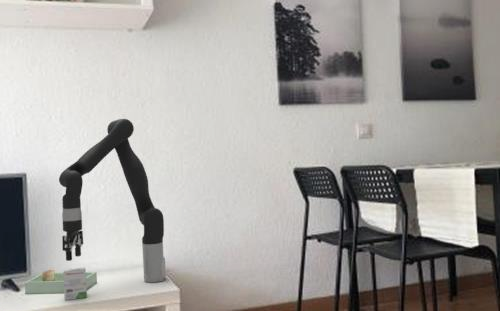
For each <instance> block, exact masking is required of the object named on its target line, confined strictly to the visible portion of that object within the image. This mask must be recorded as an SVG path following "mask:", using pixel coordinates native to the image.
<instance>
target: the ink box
mask: <svg viewBox="0 0 500 311" xmlns="http://www.w3.org/2000/svg"><path fill="white" fill-rule="evenodd" d="M86 272H87V271H86V267H79V268H68V269H64V270H63V272H62V273H63V277H64V293H63V294H64V301H68V300H77V299H86V298H87V296H88V291H87V290H88V289H87V287H86Z"/></svg>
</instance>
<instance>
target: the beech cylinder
mask: <svg viewBox="0 0 500 311" xmlns="http://www.w3.org/2000/svg"><path fill="white" fill-rule="evenodd" d="M54 273H55V270H53V269H51V270H50V269H48V270H44V271H41V274H42V279H43V281H55V276H54Z"/></svg>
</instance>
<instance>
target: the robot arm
mask: <svg viewBox="0 0 500 311" xmlns="http://www.w3.org/2000/svg"><path fill="white" fill-rule="evenodd" d="M134 130H135V128H134V124H133V122H132V121H131V120H129V119H128V118H118V119H116V120H112V121H111V122H109V124H108V125H107V130H106V131H107V135H106V136H105V137H103V139H101V140H100V141H99V142H97V143H95V145H93V146H92V147H90V148H89V149H87V151H86V152H84V153H83V154H82V155H81V156H80V157H79V159H77V160H76V161H75V162H74V163H72V164H71V165H69V166H68V167H66V168H65V169H64V170H63V171H62V172H61V173H60V175H59V178H58V181H59V184H60V185H61V186H62V187H64V188H65V194H64V195H63V196H62V199H61V200H62V203H61V204H62V213H61V214H62V216H61V218H62V231H63V232H66V235H62V237H61V238H62V240H61V241H62V243H61V244H62V251H64V252H65V261H69V262H70V261H72V260H73V251H72V250H73V247H74V250H75V252H74V255H75V257H81V256H82V249H81V248H82V246H83V245H84V234H83V233H84V232H83V217H82V210H81V209H82V207H81V206H82V205H81V194H82V190H83V184H84V183H83V176H84V175H86V174H89V173H90V172H92V170H94V169H95V167H97V166H98V165H99V164H100V163H101V161H103V159H104V158H106V156H107V155H109V154H110V153H111V152H113V150H114V149H115V152H116V154H117V157H118V161H119V163H120V166H121V169H122V172H123V176H124V178H125V180H126V183H127V186H128V188H129V191H130V193H131V194H132V197H133V199H134V203H135V207H136V212H137V215H138V219H139V221H140V224H141V225H142V226H143V236H142V238H141V240H142V241H141V243H142V244H141V245H142V265H143V282H145V283H159V282H164V280H166V279H167V276H166V275H167V274H166V271H167V270H166V258H165V257H164V240H163V238H164V234H165V221H164V215H163V212H162V211H161V210H160V209H159V208H157V207H155V205H154V204H153V202H152V199H151V196H150V193H149V192H150V191H149V190H150V189H149V180H148V175H147V173H146V170H145V167H144V164H143V163H142V161H141V160H140V158H139V157H138V155H137V154H136V153H135V152H134V150H133V148H132V147H131V144H130V142H129V138H130V137H131V136H132V135H133V133H134Z"/></svg>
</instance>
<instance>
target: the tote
mask: <svg viewBox="0 0 500 311" xmlns="http://www.w3.org/2000/svg"><path fill="white" fill-rule="evenodd" d="M54 276H55V281H43V279H42V273H40V274H39V275H37V276H35V277H33V278H30V279H29V280H27V281H24V290H25V295H33V294H36V295H37V294H64V277H63V272H54ZM97 276H98V275H97V271H86V287H87V290H89V289H90V288H92V287H93V286H95V285H96V284H98V278H97Z"/></svg>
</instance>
